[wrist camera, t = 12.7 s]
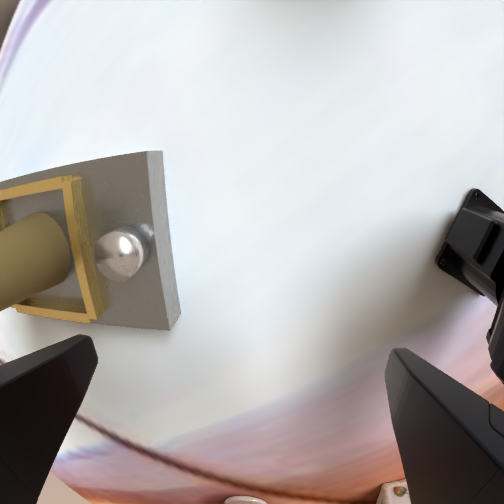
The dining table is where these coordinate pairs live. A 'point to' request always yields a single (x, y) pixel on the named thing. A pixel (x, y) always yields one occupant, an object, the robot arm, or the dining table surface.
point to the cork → (31, 258)
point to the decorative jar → (394, 493)
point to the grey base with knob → (103, 240)
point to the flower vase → (244, 500)
